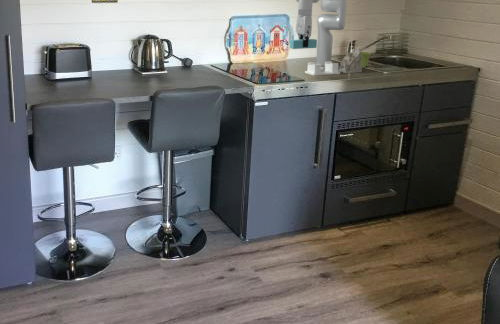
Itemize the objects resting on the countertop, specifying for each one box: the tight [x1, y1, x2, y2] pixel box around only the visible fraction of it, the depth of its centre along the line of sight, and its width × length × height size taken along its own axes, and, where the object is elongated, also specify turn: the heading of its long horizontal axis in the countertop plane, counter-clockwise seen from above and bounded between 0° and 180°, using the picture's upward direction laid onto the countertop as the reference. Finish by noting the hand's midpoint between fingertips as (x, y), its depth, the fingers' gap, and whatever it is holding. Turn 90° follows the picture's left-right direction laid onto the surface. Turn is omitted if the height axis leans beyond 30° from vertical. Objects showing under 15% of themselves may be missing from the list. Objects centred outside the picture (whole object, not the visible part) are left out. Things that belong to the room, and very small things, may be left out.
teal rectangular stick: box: [289, 38, 318, 50], centre depth 322 cm, size 4×15×4 cm, turn 115°
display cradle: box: [304, 60, 341, 76], centre depth 338 cm, size 10×18×6 cm, turn 116°
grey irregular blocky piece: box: [338, 46, 363, 74], centre depth 348 cm, size 16×16×15 cm
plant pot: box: [361, 51, 372, 68], centre depth 364 cm, size 9×9×9 cm
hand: (303, 46), depth 322 cm, fingers closed on teal rectangular stick, 4 cm apart
